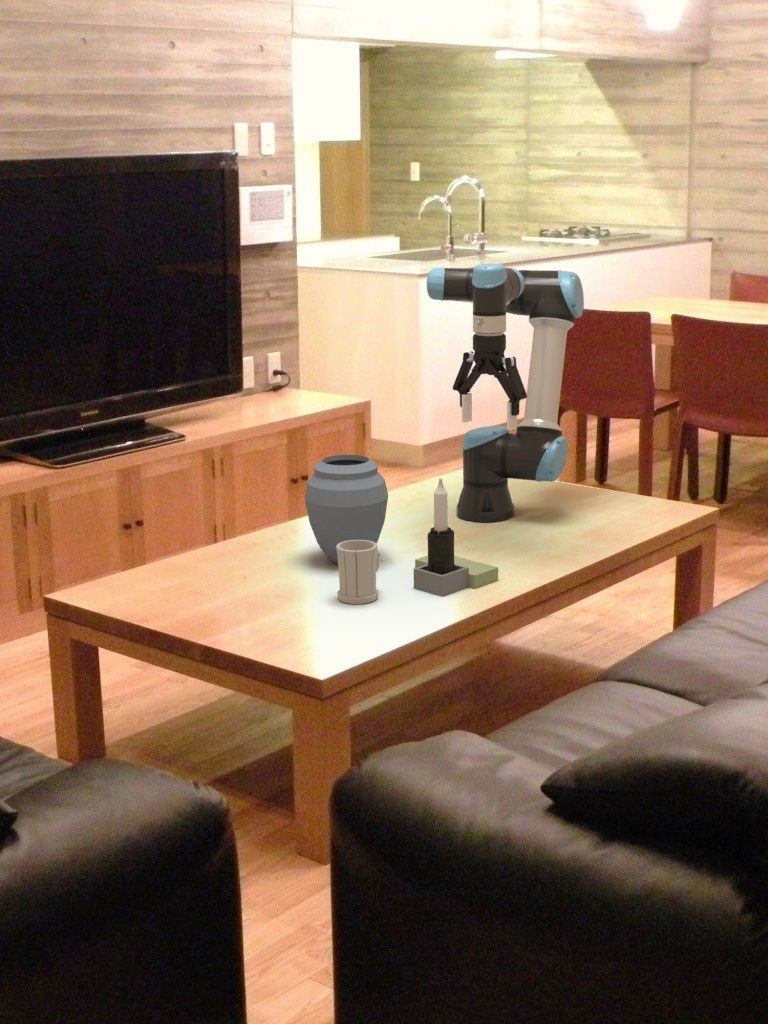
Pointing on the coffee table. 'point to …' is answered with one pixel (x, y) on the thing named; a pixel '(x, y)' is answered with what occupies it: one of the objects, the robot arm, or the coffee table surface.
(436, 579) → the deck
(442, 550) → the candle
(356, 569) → the cup
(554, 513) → the coffee table surface
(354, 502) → the vase
